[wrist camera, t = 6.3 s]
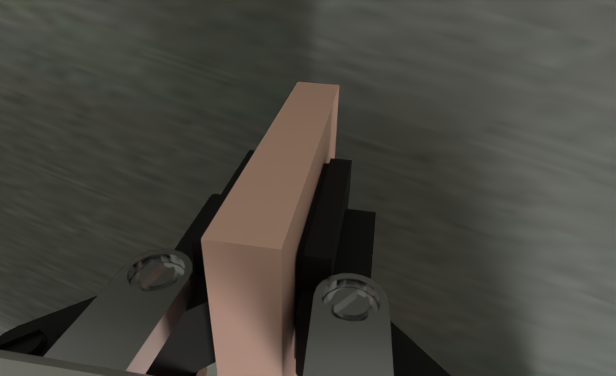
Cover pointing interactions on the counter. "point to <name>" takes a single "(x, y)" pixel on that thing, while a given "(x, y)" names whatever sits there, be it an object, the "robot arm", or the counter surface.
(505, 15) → the counter surface
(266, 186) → the strip
